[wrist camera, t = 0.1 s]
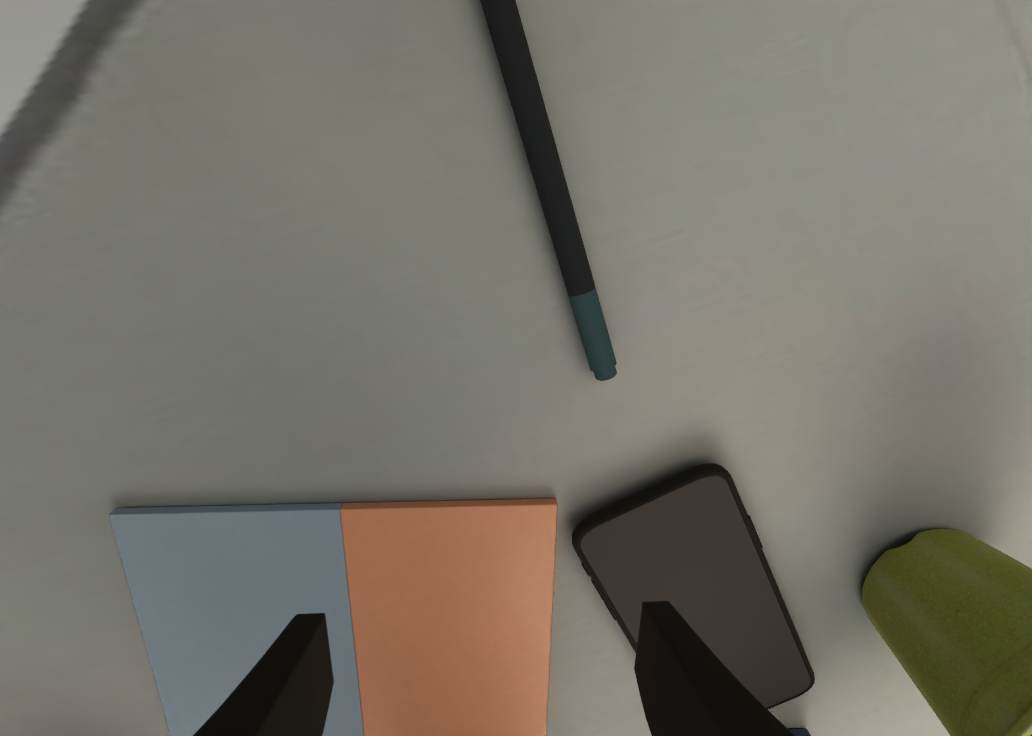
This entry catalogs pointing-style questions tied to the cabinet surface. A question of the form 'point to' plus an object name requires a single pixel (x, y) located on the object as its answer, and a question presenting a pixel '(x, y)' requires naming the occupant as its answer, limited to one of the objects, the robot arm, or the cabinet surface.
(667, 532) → the smartphone
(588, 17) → the cabinet surface
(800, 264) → the cabinet surface
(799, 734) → the slate block
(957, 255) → the cabinet surface
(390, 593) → the sorting board
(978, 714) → the plant pot
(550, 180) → the pen
